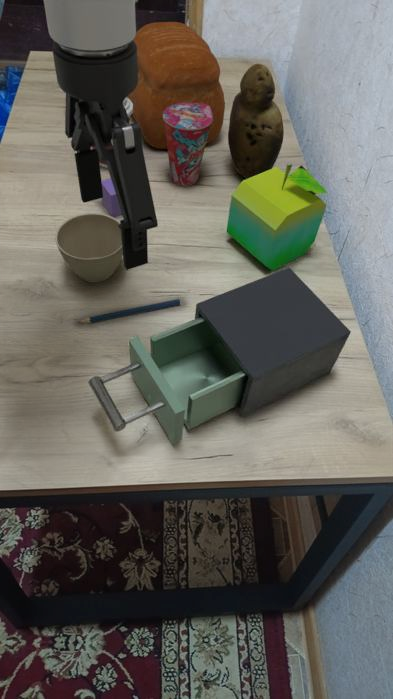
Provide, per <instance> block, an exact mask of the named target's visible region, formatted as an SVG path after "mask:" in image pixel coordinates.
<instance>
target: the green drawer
mask: <svg viewBox="0 0 393 699" xmlns="http://www.w3.org/2000/svg"><path fill="white" fill-rule="evenodd" d="M149 339H150V344H149V345H150V352H149V351H148V350H147V348H146V346H145V345H144V343H143V342H142V340H141V339H140V337H139V336H138V335H137V336H133V337H131V338H129V339H128V348H129V351H128V352H129V363H130V365H127V366H124V367H122V368H120V369H117V370H115V371H112V372H111V373H108V374H105V375H103V376H98V375H95V376H92V377H91V378H90V379H89V380H88V385H89V386H90V389H91V391H92V393H93V394H94V396H95V398H96V399H97V402H98V404H99V405H100V407H101V408H102V411H103V413H104V414H105V416H106V418H107V420H108V422H109V423H110V426H111V427H112V429H113V431H114V432H116V433H118V432H121V431H123V430H125V428H126V427H127V425H128V424H131V423H133V422H135V421H138V420H139V419H142V418H143V417H146V416H148V415H150V414H152V413H154V415H155V417H156V418H157V420H158V422H159V423H160V425H161V427H162V428H163V430H164V431H165V433H166V435H167V437H168V439H169V440H170V441H171V444H172V445H175V444H176V443H179V442H181V441H182V440H183V434H184V424H185V426H186V427H187V430H191V429H193V428H195V427H196V426H199V425H202V424H203V423H205V422H207V421H209V420H211V419H213V418H215V417H217V416H219V415H221V414H223V413H226V412H227V411H229V410H231V409H234V407H235V406H237V405H239V404H241V403H242V399H243V395H244V392H245V388H246V385H247V381H248V376H247V374H246V373H245V372H244V370H243V369H242V368H241V366H240V365H239V364H238V362H237V361H236V360H235V359H234V357H233V356H232V355H231V353H230V352H229V351H228V349H227V348H226V347H225V345H224V344H223V343H222V341H221V340H220V339H219V337H218V336H217V335H216V334H215V332H214V331H213V330H212V328H211V327H210V326H209V324H208V323H207V322H206V320H205V319H204V318H203V316H202V317H199V318H197V319H195V318H194V319H192V320H190V321H187V322H185V323H182V324H180V325H177V326H175V327H172V328H169V329H166V330H165V331H161V332H159V333H157V334H155V335H152V336H150V338H149ZM127 374H130V375H131V376H132V378H133V380H134V382H135V384H136V385H137V387H138V388H139V390H140V392H141V393H142V395H143V397H144V399H145V400H146V401H147V404H148V405H149V406H146V407H144V408H142V409H140V410H138V411H136V412H134V413H130V414H129V415H127V416H124V417H123V416H122V415H121V413H120V411H119V409H118V408H117V406H116V404H115V401H114V400H113V398H112V397H111V395H110V393H109V391H108V389H107V388H106V386H105V384H106V383H108V382H110V381H113V380H115V379H118V378H120V377H122V376H125V375H127Z"/></svg>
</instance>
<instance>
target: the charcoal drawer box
mask: <svg viewBox="0 0 393 699" xmlns="http://www.w3.org/2000/svg"><path fill="white" fill-rule="evenodd" d="M194 313H195V314H194V319H197V318H199V317H202V316H203V318H204V319H205V320H206V322H207V323H208V324H209V326H210V327H211V328H212V330H213V331H214V332H215V334H216V335H217V336H218V337H219V339H220V340H221V341H222V343H223V344H224V345H225V347H226V348H227V349H228V351H229V352H230V353H231V355H232V356H233V357H234V359H235V360H236V361H237V362H238V364H239V365H240V366H241V368H242V369H243V370H244V372H245V373H246V374H247V376H248V381H247V385H246V388H245V392H244V395H243V399H242V403H241V404H239V405H237V406H235V407H233V409H235V411H236V413H237V414H238V415H239V417H240V418H242V419H243V418H245V417H247V416H249V415H252V414H254V412H257V411H259V410H261V409H263V408H264V407H267V406H269V405H271V404H272V403H275V402H277V401H278V400H280V399H283V398H284V397H287V396H289V395H291V394H292V393H295V392H297V391H299V390H300V389H303V388H304V387H307V386H309V385H310V384H312V383H314V382H316V381H319V380H320V379H322V378H324V377H327V376H328V375H330V374H331V372H332V370H333V368H334V366H335V364H336V362H337V360H338V358H339V357H340V355H341V353H342V350H343V348H344V347H345V345H346V343H347V341H348V338H349V337H350V335H351V333H352V331H351V330H350V329H349V328H348V327H347V326H346V325H345V324H344V323H343V322H342V321H341V319H339V318H338V317H337V315H335V313H334V312H333V311H332V310H331V309H330V308H329V307H328V306H327V305H326V304H325V303H324V302H323V301H322V300H321V299H320V297H318V296H317V295H316V294H315V293H314V292H313V290H312V289H311V288H310V287H309V286H308V285H307V284H306V283H305V282H304V281H303V279H301V278H300V277H299V276H298V275H297V274H296V273H295V272H294V271H293V269H291V268H290V267H287V268H285V269H284V268H283V269H282V270H279V271H277V272H274V273H271V274H269V275H266V276H263V277H262V278H259V279H256V280H254V281H250V282H249V283H246V284H243V285H240V286H238V287H235V288H233V289H230V290H228V291H226V292H225V291H224V292H223V293H220V294H218V295H215V296H213V297H211V298H207V299H205V300H202V301H200V302H197V303H196V304H195V312H194Z"/></svg>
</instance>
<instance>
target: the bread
mask: <svg viewBox="0 0 393 699" xmlns="http://www.w3.org/2000/svg"><path fill="white" fill-rule="evenodd" d="M133 41H134V42H135V43H136V45H137V60H138V84H137V86H136V88H135V89H134V91H133V92H132V93H130V94H129V95H128V96H127V98H128V99H130V101H131V102H132V103H133V114H132V116H133V118H134V120H135V122H136V123H138V124H139V125H140V128H141V135H142V136H143V138H144V140H145V142H146V143H147V144H148V145H149V146H150V147H152V148H155V149H160V150H161V149H162V150H163V149H164V150H168V146H167V137H166V129H165V121H164V119H163V111H164V110H165V109H166V108H167V107H169V106H171V105H174V104H178V103H201V104H206V105H209V106H210V107H211V111H212V115H213V121H212V123H211V125H210V129H209V133H208V137H207V141H206V144H207V143H211V142H212V141H214V140H215V139H217V137H218V136H219V134H220V133H221V130H222V127H223V124H224V120H225V118H224V117H225V110H226V102H225V92H224V90H223V86H222V85H221V82H220V76H221V68H220V65H219V62H218V60H217V58H216V56H215V54H214V53H213V52H212V50H211V48H210V45H209V44H208V43H207V41H205V39H204V38H202V37H201V36H200V35H199V34H198V33H197V32H196V31H195V30H194V29H193V28H191V27H190V26H189V25H187V24H185V23H183V22H177V21H164V22H163V21H161V22H160V21H159V22H158V21H157V22H151V23H148V24H145V25H143V26H142V27H141V28H139V29H138V30H136V36H135V38H134V39H133Z"/></svg>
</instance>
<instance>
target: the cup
mask: <svg viewBox="0 0 393 699" xmlns="http://www.w3.org/2000/svg"><path fill="white" fill-rule="evenodd" d="M163 119H164V121H165V129H166V137H167V146H168V149H167V154H168V162H169V163H168V164H169V166H168V167H169V174H170V181H172V182H173V183H174V184H176V185H179V186H184V187H189V186H192V185H195V184H196V183H197V182H198V180H199V175H200V170H201V166H202V163H203V157H204V153H205V150H206V145H207V143H206V141H207V137H208V133H209V129H210V125H211V123H212V121H213V115H212V111H211V107H210V106H209V105H206V104H201V103H178V104H174V105H171V106H169V107H167V108H166V109H165V110H164V111H163Z"/></svg>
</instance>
